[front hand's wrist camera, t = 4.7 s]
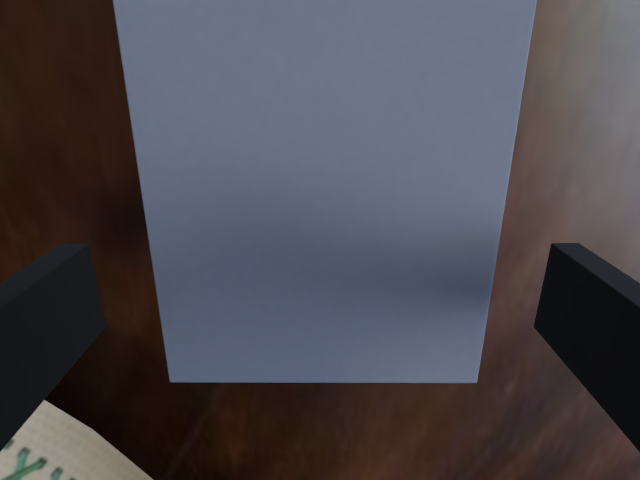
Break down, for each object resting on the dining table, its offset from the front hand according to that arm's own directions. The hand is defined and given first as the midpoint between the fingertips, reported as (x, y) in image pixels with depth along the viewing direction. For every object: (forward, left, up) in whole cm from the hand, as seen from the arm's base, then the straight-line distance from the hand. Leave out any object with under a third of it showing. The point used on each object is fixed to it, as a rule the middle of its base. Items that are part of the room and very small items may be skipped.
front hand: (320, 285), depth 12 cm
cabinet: (+4, +2, -12) cm, 13 cm away
